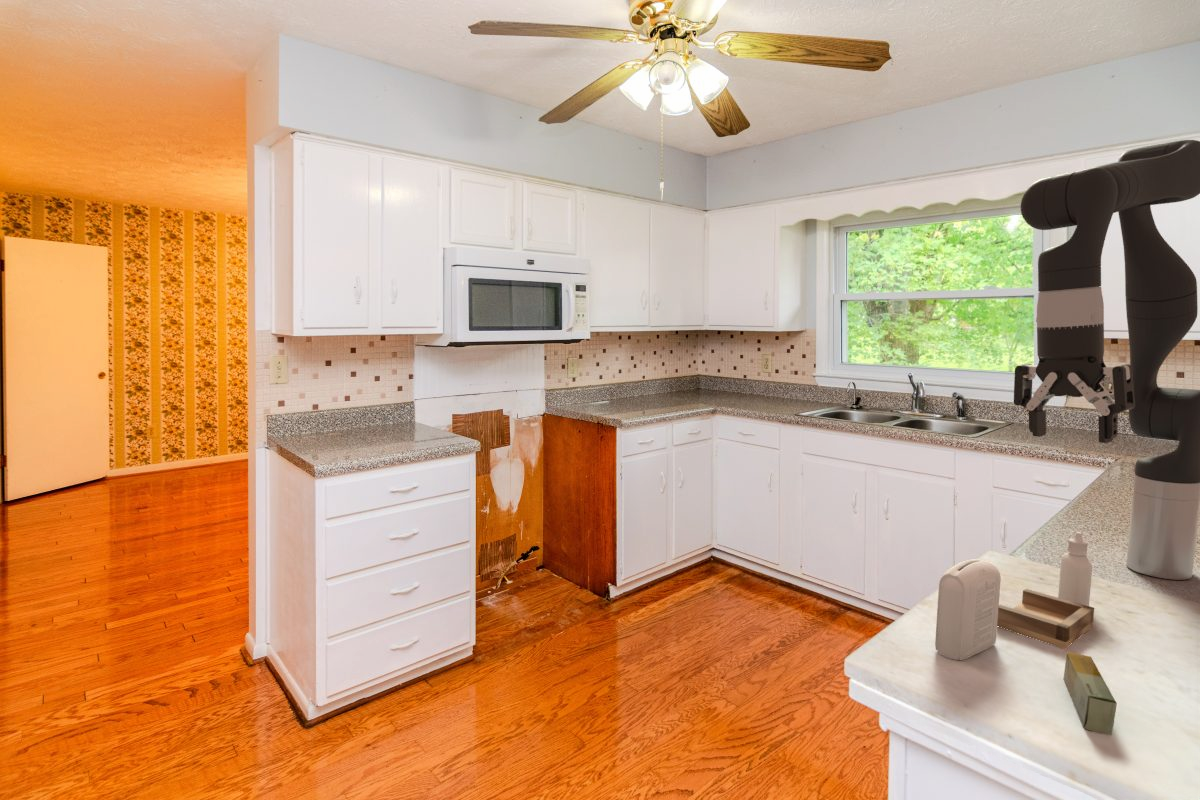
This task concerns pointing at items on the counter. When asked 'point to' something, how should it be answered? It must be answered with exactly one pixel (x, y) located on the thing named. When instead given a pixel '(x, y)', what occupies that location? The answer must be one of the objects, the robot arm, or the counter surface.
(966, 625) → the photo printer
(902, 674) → the counter surface
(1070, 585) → the eye dropper bottle
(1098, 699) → the medication box
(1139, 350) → the robot arm
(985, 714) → the counter surface
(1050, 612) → the oak tray
